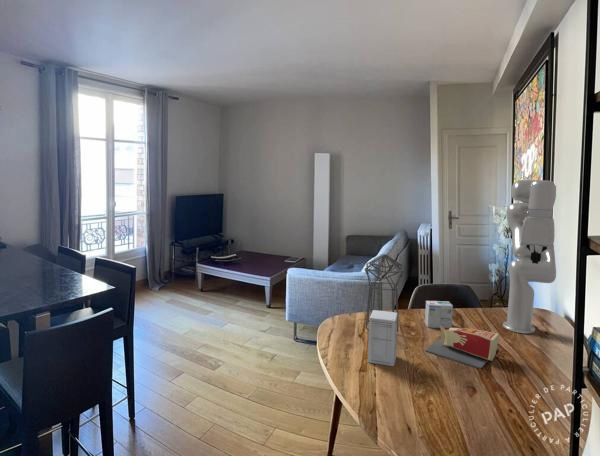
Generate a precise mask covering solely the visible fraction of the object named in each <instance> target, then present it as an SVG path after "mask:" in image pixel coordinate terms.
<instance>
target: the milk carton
mask: <svg viewBox="0 0 600 456" xmlns="http://www.w3.org/2000/svg"><path fill="white" fill-rule="evenodd" d="M439 329H440V335H441V345H443V344H445V345H449V346H451V347H454V348H457V349H459V350H462V351H465V352H468V353H470V354H473V355H476V356H479V357H482V358H485V359H488V361H491V362H493V360H494V358H495V357H496V353H497V351H496V349H497V348H498V343H499V333H495V332H491V331H487V330H486V331H485V330H481V329H472V328H467V327H466V328H465V327H452V328H443V327H441V326H440V328H439Z"/></svg>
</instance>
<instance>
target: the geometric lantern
mask: <svg viewBox="0 0 600 456" xmlns="http://www.w3.org/2000/svg"><path fill="white" fill-rule="evenodd" d="M379 261H380V263H379V264H377V263H378V262H379ZM386 263H387V265H386ZM365 266H366V267H365V268H364V271H365V274H366V276H367V282H368V285H369V287H368V295H367V306H366V307H367V308H366V317H365V326H364V327H365V330H367V331H368V332H369V327H368V326H369V318H370V316H371V313H372V311H373V310H375V300H376V299H375V297H376V296H375V295H376V290H385V291H391V312H395V311H396V313H398V315H397V333H398V332H399V328H400V327H399V326H400V325H399V322H400V321H399V299H398V298H399V297H398V293H399V292H398V290H399V283H400V281H401V278H403V273H405V270H404V269H403V265H402V264H401V263H399V262H398V261H396V260H395V259H394V258H393V257H390V256H389V255H388V254H385V253H383V254H380V255H379V256H377V257H375V258H374V259H372V260H370V261H369V262H367V263H366V264H365ZM391 267H392V268H391ZM372 268H375V269H372ZM387 268H388V271H387ZM395 269H396V270H395ZM374 272H376V273H377V275H376V274H375V273H374ZM382 273H384V274H385V277H381V274H382ZM391 273H392V274H391ZM370 274H371V275H373V276H374V277H376V279H375V281H373V282H372V280H371V277H370ZM398 274H399V276H398V277H397V280H396V283H394V281H393V280H392V278H391V277H392V276H395V275H398ZM387 275H388V276H387ZM389 279H390V280H391V282H390V280H389ZM378 280H386V281H387V282H381V281H380V282H379V281H378ZM376 284H386V285H389V286H390V288H381V287H379V288H378V287H376ZM395 309H396V310H395Z"/></svg>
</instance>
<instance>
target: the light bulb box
mask: <svg viewBox="0 0 600 456" xmlns="http://www.w3.org/2000/svg"><path fill="white" fill-rule="evenodd" d="M453 310H454V305H453V304H452V303H451V302H450V301H447V300H445V301H444V300H443V301H440V300H425V313H424V314H425V316H424V323H425V325H426V327H427V328H434V329H440V326H441V327H443V328H453V312H454V311H453Z"/></svg>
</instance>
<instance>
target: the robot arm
mask: <svg viewBox="0 0 600 456" xmlns="http://www.w3.org/2000/svg"><path fill="white" fill-rule="evenodd" d="M510 191H511V193H510V195H511V198H512V200H513V201H519V202H514V203H510V204H508V206H507V209H506V220H507V223H508V226H509V228H510V231H511V236H512V239H511V240H512V242H511V243H512V255H513V256H514V258H515V259H513V260H512V261H510V263H509V266H508V267H509V268H508V269H509V271H508V272H509V294H508V302H507V303H508V304H507V306H508V307H507V316H506V321H504V322H502V327H503V328H504V329H506V330H508V331H510V332H513V333H516V334H517V333H518V334H523V335H525V334H528V335H529V334H534V333H535V332H536V328H535V327H534V326H533V325H532V323H533V321H532V320H533V312H534V304H535V303H534V300H535V291H534V288H533V287H532V286H531V284H529V283H530V282H532V283H541V284H552V283H554V282H555V280H556V278H557V265H556V255H555V254H556V253H555V245H554V243H555V219H554V218H553V209H554V206H555V203H556V198H557V186H556V184H555V182H554V181H552V180H546V179H545V180H544V179H543V180H542V179H541V180H540V179H538V180H537V179H533V180H532V179H520V180H516V181H514V182H513V183H512V186H511V189H510Z"/></svg>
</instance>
